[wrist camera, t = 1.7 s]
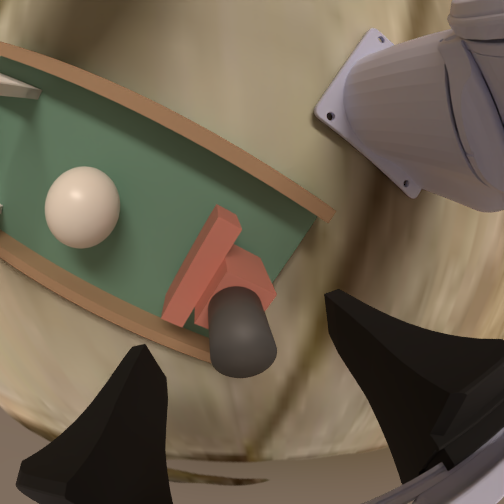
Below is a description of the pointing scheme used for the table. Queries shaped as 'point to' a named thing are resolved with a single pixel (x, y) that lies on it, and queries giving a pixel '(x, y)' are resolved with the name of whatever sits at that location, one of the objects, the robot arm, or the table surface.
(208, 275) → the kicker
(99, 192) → the ball
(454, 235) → the table surface
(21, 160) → the pitch
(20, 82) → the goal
